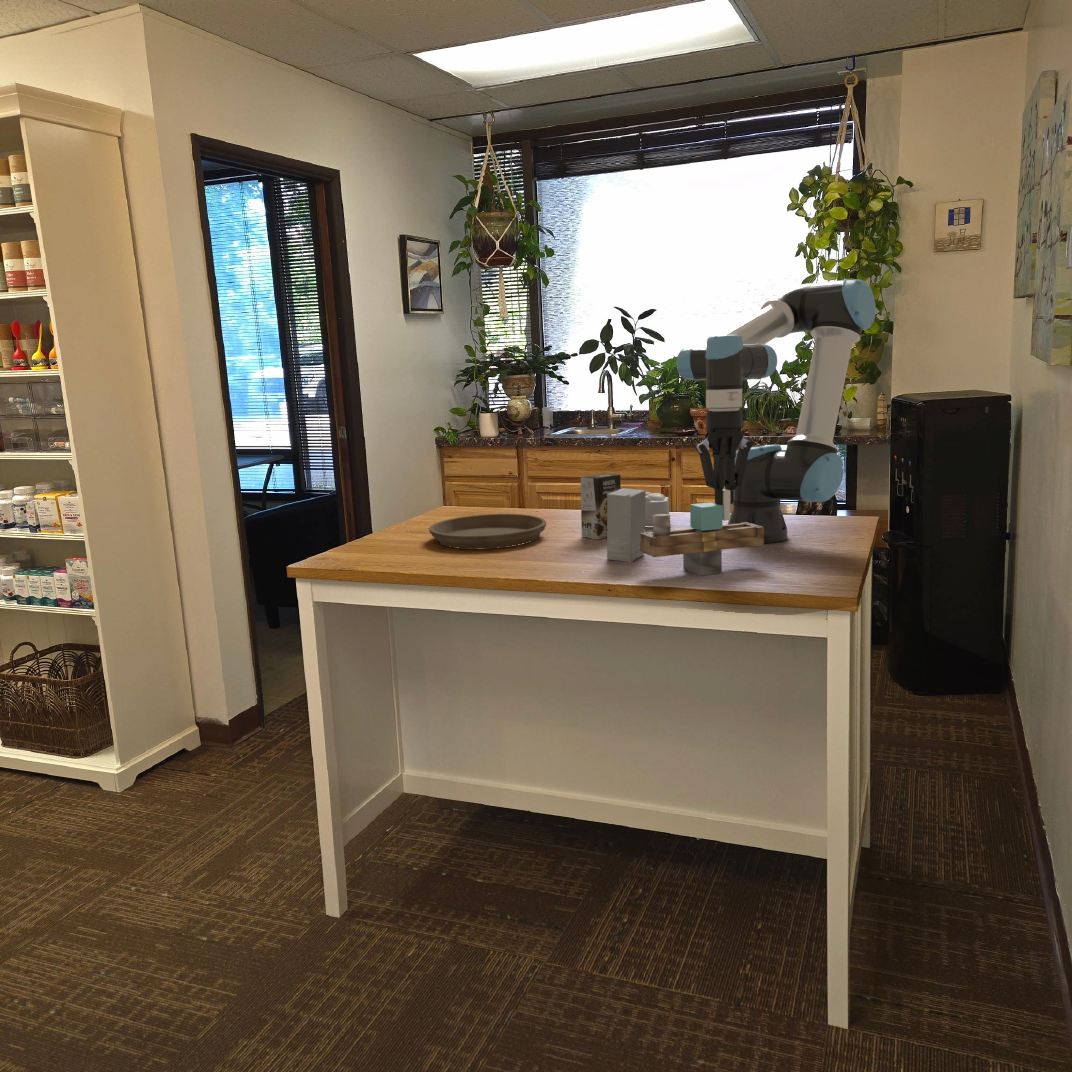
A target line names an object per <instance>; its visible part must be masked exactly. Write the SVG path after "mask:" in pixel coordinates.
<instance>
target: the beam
mask: <svg viewBox="0 0 1072 1072" xmlns="http://www.w3.org/2000/svg"><path fill="white" fill-rule="evenodd" d="M652 529H653V530H652V531H651V532H646V531H645V532H644V533H640V551H641V552H643V553H645V554H646V555H647V556H649V557H652V558H660V557H668V556H676V555H682V556H683V557H682V558H683V559H682V560H683V565H682V566H683V569H684V570H687V571H689V572H691V573H692V574H696V575H698V576H700V577H702V576H709V575H710V576H711V575H719V573H720V574H723V573H722V572H723V571H722V570H723V569H722V566H723V563H722V561H723V560H722V559H723V558H722V557H723V556H722V555H723V554H722V553H723V551H724V550H731V549H741V548H749V547H750V548H751V547H757V546H758V547H759V546H764V545H765V543H764V527H762V526H759V525H755V524H752V523H748V522H743V523H739V524H729V525H727V524H722V529H717V530H712V531H702V532H695V530H697V529H694V528H691V527H689V528H682V529H681V528H680V529H673V530H672V529H671V514H669V515H668V514H656V515H653V528H652ZM722 550H723V551H722ZM645 554H644V555H645Z"/></svg>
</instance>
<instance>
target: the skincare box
mask: <svg viewBox="0 0 1072 1072" xmlns="http://www.w3.org/2000/svg"><path fill="white" fill-rule="evenodd" d="M645 492H647V490H644V489H636V488H635V489H634V488H626V487H625V488H621V489H620V490H617V491H615V492H612V493H609V494H607V538H606V549H607V550H606V560H609V561H610V560H612V561H619V562H627V561H629V562H628V563H630V561H631V562H633V561H635V560H636V558H637V559H638V558H640V557H641V556H643V555H645V553H643V552H641V551H640V533H644V532H646V528H645Z"/></svg>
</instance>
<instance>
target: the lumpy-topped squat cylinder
mask: <svg viewBox="0 0 1072 1072" xmlns="http://www.w3.org/2000/svg"><path fill="white" fill-rule="evenodd" d="M656 514H668V515H670V498H669V496H668V497H667V496H665V495H664V494H662V493H658V492H654V493H652V492H649V491H646V492H645V526H653V515H656Z"/></svg>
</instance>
